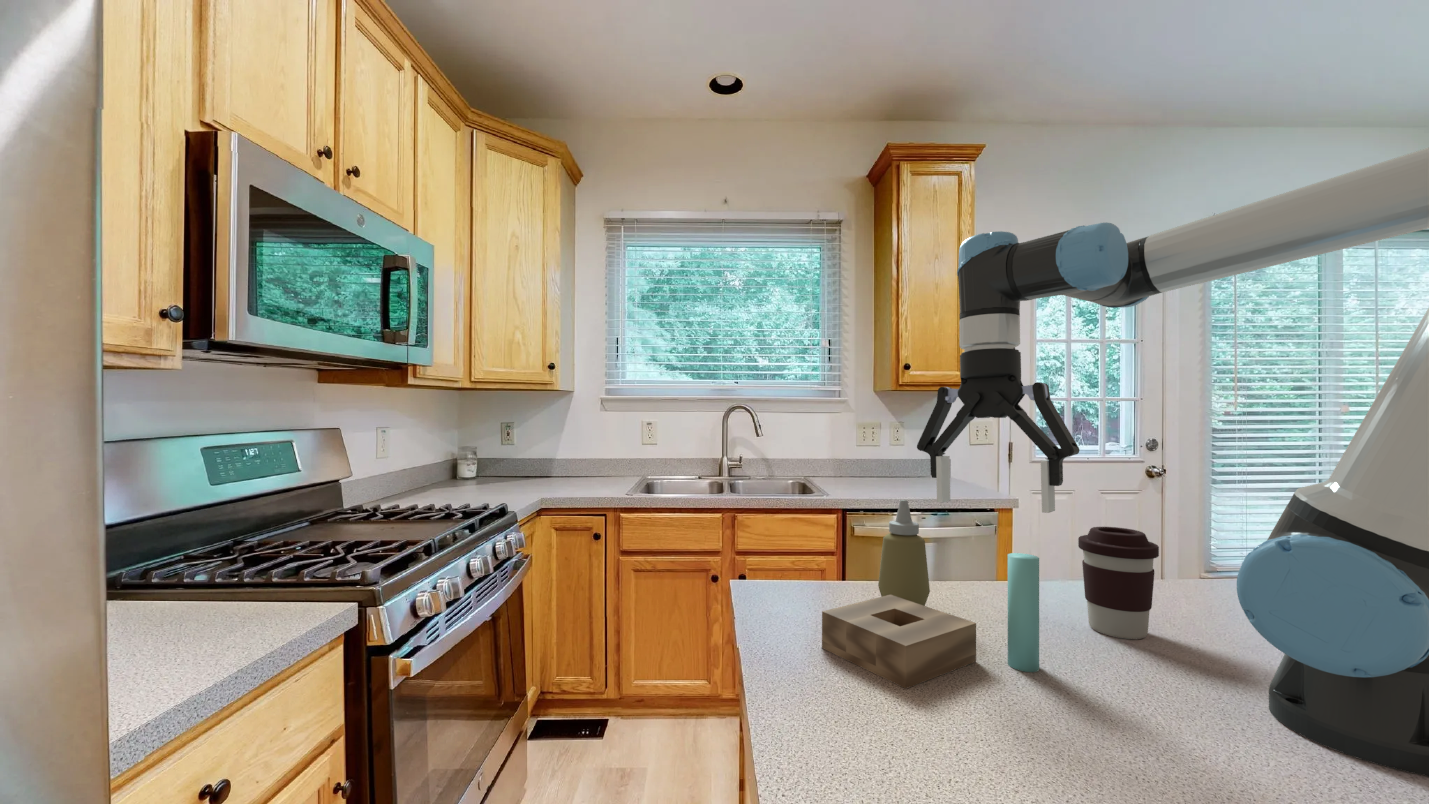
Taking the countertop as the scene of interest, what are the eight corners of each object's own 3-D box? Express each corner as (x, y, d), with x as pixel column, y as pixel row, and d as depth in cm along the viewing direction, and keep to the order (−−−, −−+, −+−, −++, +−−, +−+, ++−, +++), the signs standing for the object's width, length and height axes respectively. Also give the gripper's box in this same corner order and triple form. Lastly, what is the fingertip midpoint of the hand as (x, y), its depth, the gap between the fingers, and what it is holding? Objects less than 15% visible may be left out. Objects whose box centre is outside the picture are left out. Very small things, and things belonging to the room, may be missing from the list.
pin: (1044, 667, 75) (1044, 557, 75) (1029, 674, 73) (1029, 561, 73) (1017, 657, 78) (1017, 551, 78) (1001, 664, 76) (1001, 555, 76)
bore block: (976, 661, 76) (976, 623, 76) (905, 688, 69) (905, 645, 69) (890, 628, 88) (890, 594, 88) (821, 648, 80) (822, 611, 81)
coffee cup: (1132, 620, 92) (1132, 525, 92) (1175, 645, 82) (1175, 538, 82) (1066, 618, 93) (1066, 523, 93) (1100, 642, 83) (1100, 536, 83)
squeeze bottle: (937, 620, 92) (937, 504, 92) (885, 619, 92) (885, 504, 92) (920, 603, 100) (920, 497, 100) (872, 602, 100) (872, 496, 100)
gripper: (1103, 343, 74) (1108, 513, 73) (916, 359, 91) (918, 495, 91) (1087, 337, 68) (1092, 520, 68) (892, 355, 86) (894, 500, 86)
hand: (992, 506), depth 79 cm, fingers open, 13 cm apart
